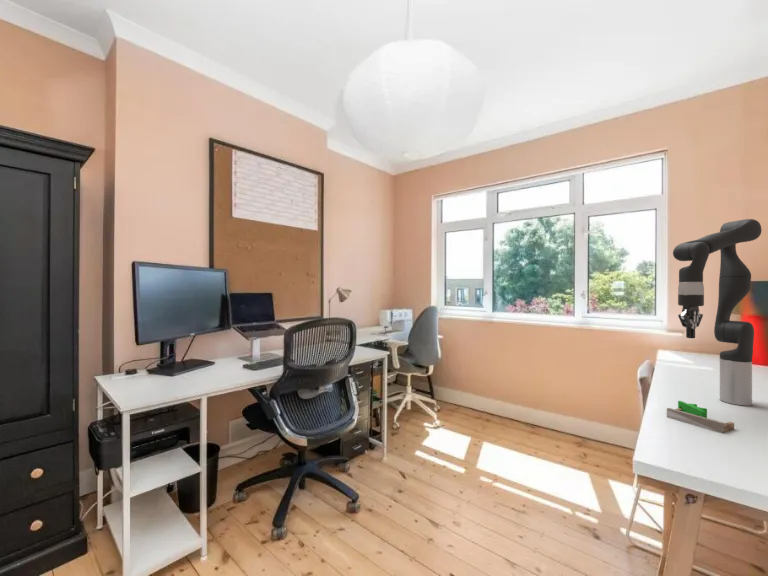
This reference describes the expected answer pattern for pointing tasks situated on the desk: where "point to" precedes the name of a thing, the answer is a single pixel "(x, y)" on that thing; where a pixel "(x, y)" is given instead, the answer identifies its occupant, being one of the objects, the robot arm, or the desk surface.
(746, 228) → the robot arm
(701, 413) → the pipe clamp
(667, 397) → the desk surface
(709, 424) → the channel stop
